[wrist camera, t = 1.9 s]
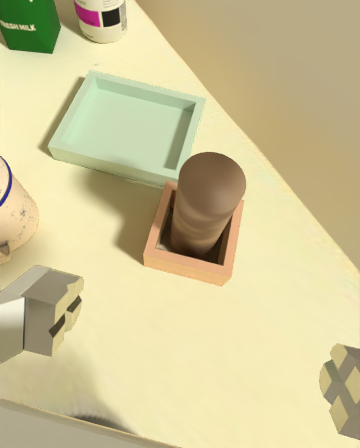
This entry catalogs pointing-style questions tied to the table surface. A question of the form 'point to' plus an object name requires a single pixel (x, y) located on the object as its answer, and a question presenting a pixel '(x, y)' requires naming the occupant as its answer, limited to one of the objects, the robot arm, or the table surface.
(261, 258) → the table surface
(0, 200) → the teacup with lid
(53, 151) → the sage tray
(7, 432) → the robot arm
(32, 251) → the table surface
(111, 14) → the supplement can
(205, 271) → the terracotta holder
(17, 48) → the milk carton
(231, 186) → the walnut canister
